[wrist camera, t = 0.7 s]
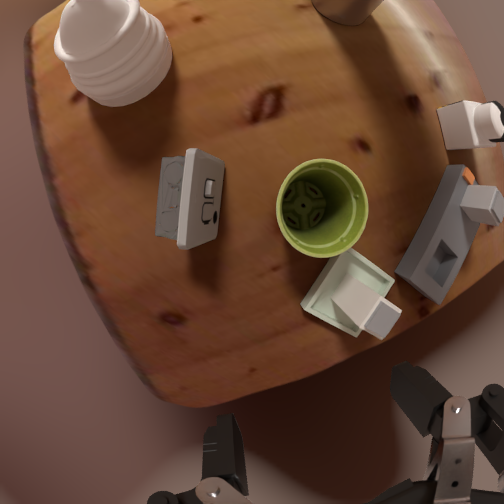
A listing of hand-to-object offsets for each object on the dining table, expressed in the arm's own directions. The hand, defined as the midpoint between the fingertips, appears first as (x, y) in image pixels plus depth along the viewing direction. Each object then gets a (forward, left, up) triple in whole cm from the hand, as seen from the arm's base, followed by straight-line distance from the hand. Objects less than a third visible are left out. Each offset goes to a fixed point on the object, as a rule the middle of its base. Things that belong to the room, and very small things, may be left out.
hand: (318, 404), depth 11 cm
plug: (-4, +12, -23) cm, 26 cm away
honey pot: (-15, -30, -24) cm, 41 cm away
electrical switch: (-4, -11, -24) cm, 27 cm away
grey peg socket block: (-20, +22, -24) cm, 38 cm away
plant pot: (-10, 0, -24) cm, 26 cm away
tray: (-4, +12, -24) cm, 27 cm away
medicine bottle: (-37, +16, -24) cm, 47 cm away
